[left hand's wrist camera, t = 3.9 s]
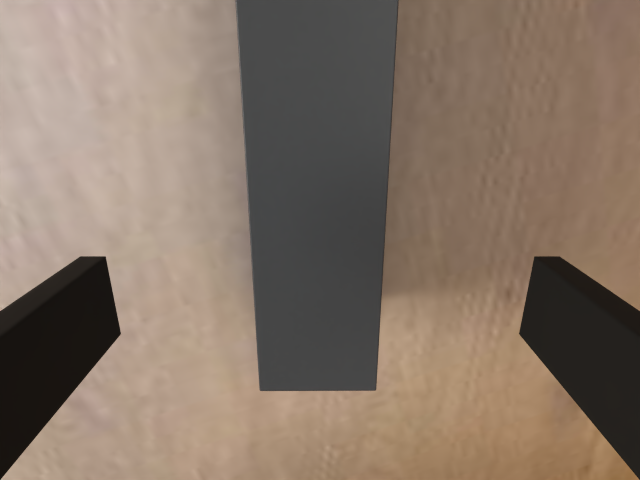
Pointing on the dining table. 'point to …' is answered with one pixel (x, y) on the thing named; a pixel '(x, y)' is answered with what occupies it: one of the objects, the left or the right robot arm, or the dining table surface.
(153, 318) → the dining table surface
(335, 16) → the plank
